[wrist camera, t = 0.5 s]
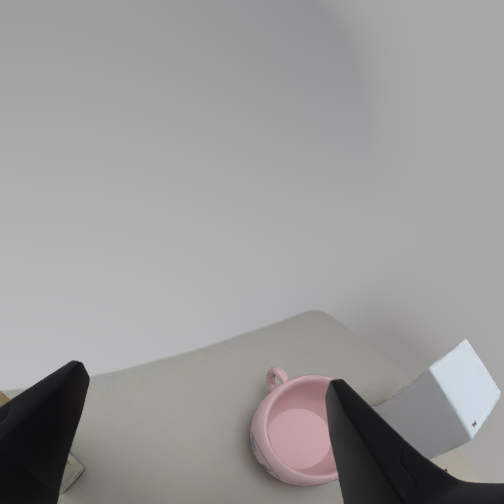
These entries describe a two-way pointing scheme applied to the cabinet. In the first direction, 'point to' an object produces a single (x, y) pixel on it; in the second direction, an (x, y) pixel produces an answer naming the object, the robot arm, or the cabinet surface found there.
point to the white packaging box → (443, 403)
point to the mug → (294, 430)
